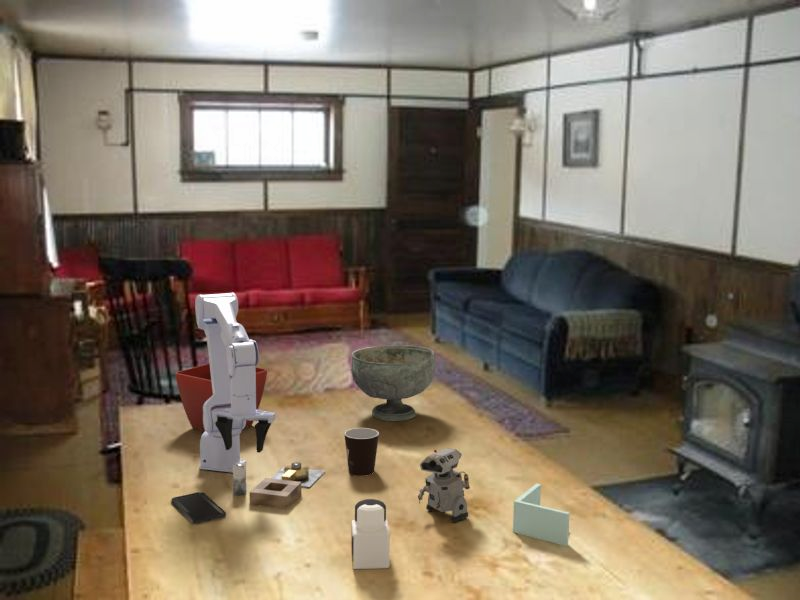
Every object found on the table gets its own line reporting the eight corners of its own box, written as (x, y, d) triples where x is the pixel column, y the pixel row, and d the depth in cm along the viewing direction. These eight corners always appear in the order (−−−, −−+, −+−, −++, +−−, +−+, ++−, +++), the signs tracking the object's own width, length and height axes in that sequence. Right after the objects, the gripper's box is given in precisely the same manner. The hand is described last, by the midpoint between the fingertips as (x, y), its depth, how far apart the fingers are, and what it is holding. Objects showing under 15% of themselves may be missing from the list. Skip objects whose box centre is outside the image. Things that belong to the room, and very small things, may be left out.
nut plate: (266, 483, 207) (266, 481, 207) (284, 467, 217) (284, 466, 217) (309, 488, 204) (309, 486, 204) (325, 471, 215) (325, 470, 215)
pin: (231, 494, 199) (230, 466, 198) (236, 490, 202) (236, 461, 201) (243, 496, 199) (242, 467, 198) (248, 491, 202) (248, 463, 200)
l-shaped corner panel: (566, 548, 176) (568, 514, 174) (512, 534, 182) (513, 501, 181) (586, 527, 186) (588, 494, 184) (535, 515, 192) (536, 483, 191)
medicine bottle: (351, 552, 171) (351, 496, 169) (387, 552, 172) (387, 495, 170) (352, 570, 164) (352, 510, 162) (389, 568, 165) (390, 509, 163)
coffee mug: (374, 479, 210) (374, 440, 209) (340, 476, 212) (340, 437, 210) (384, 462, 222) (384, 425, 220) (352, 460, 223) (352, 423, 222)
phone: (202, 491, 199) (227, 513, 187) (202, 495, 200) (227, 518, 187) (169, 498, 195) (192, 521, 183) (169, 503, 195) (192, 526, 183)
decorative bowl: (436, 427, 249) (436, 360, 246) (348, 428, 249) (347, 360, 247) (434, 405, 275) (434, 343, 273) (354, 405, 276) (353, 344, 273)
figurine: (407, 517, 188) (408, 452, 186) (444, 504, 196) (445, 441, 193) (436, 531, 181) (437, 463, 179) (473, 516, 189) (475, 451, 187)
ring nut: (273, 484, 205) (273, 472, 204) (289, 469, 214) (289, 458, 214) (297, 486, 203) (297, 475, 203) (312, 472, 213) (312, 461, 212)
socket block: (249, 504, 194) (249, 492, 194) (265, 489, 203) (265, 477, 202) (286, 509, 192) (286, 496, 191) (301, 494, 200) (301, 481, 200)
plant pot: (269, 424, 252) (269, 368, 249) (223, 442, 236) (222, 382, 233) (222, 413, 262) (220, 359, 259) (174, 429, 246) (173, 372, 243)
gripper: (206, 395, 195) (208, 453, 197) (267, 400, 192) (268, 458, 194) (219, 387, 201) (220, 443, 204) (277, 391, 199) (278, 447, 201)
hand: (244, 449), depth 199 cm, fingers open, 7 cm apart
